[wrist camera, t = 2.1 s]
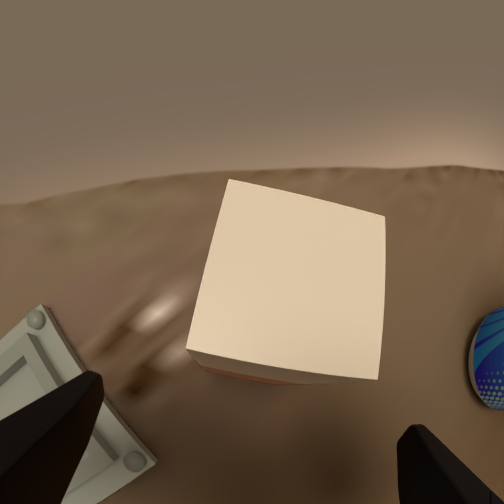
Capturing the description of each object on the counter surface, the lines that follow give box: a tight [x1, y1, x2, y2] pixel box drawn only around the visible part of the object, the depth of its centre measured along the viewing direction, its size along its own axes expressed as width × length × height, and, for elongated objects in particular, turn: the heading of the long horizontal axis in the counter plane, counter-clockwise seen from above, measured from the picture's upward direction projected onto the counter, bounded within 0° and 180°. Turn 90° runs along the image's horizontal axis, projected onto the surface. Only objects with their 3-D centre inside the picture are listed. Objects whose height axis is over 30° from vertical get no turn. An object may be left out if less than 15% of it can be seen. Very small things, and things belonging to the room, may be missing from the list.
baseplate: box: [0, 304, 158, 504], centre depth 14 cm, size 12×12×2 cm
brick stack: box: [186, 179, 385, 385], centre depth 13 cm, size 4×4×12 cm
